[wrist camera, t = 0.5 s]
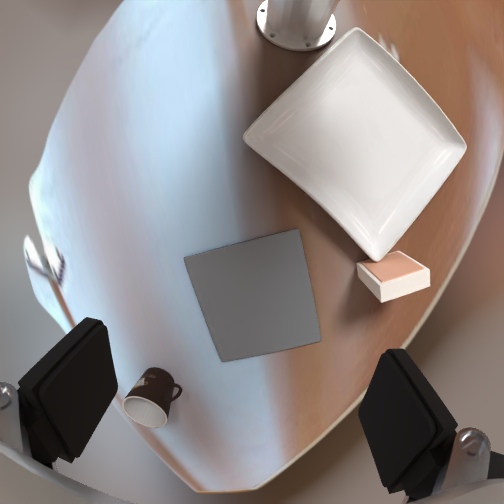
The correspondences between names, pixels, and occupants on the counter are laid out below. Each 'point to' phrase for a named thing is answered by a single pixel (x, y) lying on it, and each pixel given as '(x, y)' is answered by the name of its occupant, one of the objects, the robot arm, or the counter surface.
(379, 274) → the tile
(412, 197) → the square plate
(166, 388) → the coffee mug
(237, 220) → the counter surface
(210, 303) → the mat
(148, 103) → the counter surface
